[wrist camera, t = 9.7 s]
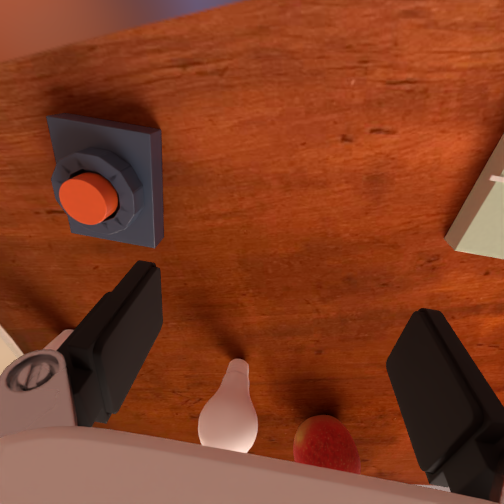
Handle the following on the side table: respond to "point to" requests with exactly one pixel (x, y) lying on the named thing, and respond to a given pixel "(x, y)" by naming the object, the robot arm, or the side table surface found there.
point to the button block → (113, 173)
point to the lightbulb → (230, 412)
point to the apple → (326, 445)
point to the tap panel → (483, 212)
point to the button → (88, 198)
